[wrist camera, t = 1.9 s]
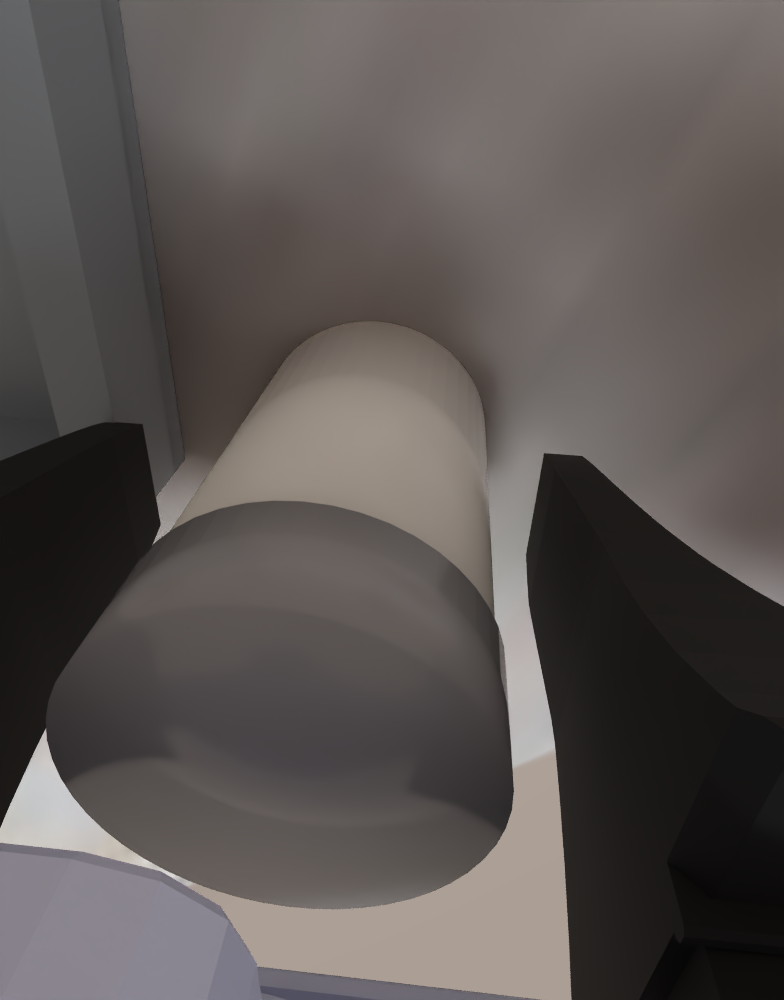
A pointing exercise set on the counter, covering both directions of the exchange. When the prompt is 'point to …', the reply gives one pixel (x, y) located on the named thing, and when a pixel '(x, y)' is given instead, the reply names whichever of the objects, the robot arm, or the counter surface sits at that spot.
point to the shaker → (310, 646)
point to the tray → (76, 238)
